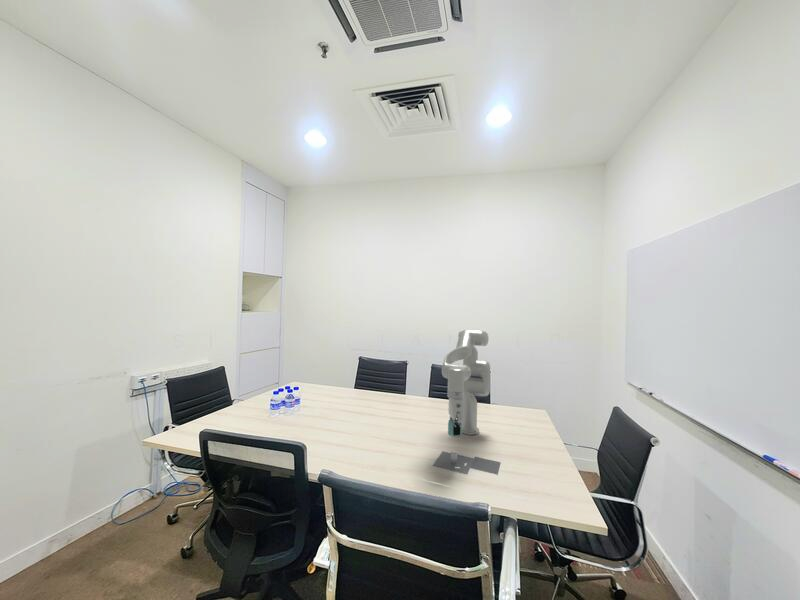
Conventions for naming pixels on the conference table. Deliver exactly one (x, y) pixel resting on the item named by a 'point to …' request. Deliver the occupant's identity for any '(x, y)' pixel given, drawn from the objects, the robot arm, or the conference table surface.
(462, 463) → the post plate
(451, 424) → the cap
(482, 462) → the mat
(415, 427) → the conference table surface
